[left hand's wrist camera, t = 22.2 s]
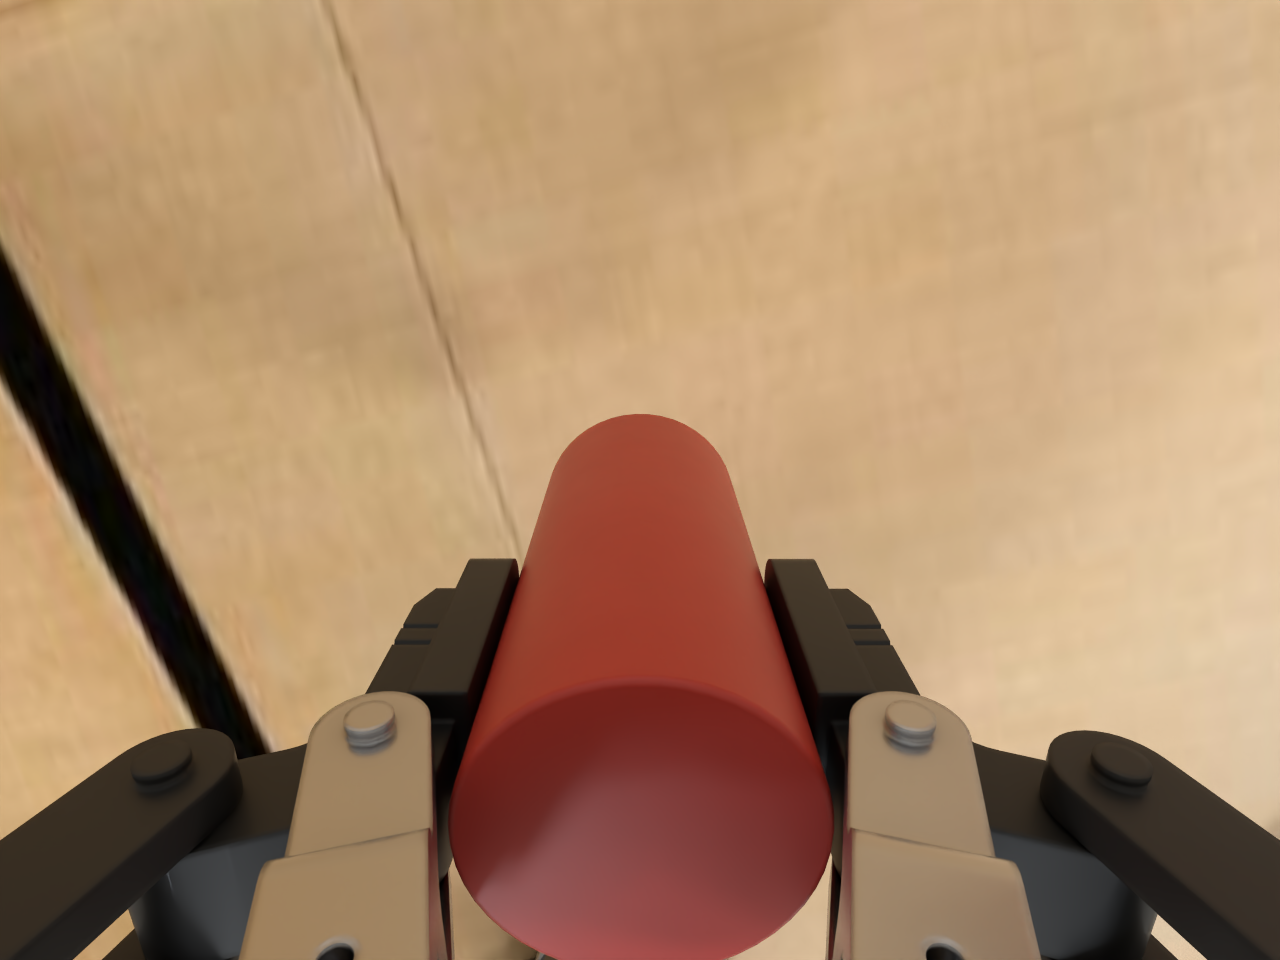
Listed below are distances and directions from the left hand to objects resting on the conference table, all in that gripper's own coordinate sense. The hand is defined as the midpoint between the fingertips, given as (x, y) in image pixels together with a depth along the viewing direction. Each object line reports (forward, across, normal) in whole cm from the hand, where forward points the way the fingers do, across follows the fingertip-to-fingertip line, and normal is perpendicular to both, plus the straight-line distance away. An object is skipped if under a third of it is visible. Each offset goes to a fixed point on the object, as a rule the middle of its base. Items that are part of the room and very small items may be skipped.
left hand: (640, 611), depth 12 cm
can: (+4, 0, 0) cm, 4 cm away
